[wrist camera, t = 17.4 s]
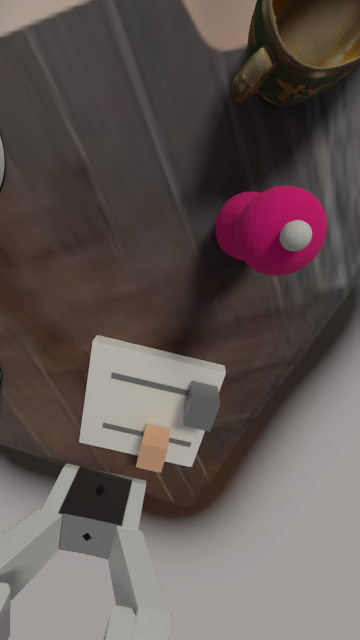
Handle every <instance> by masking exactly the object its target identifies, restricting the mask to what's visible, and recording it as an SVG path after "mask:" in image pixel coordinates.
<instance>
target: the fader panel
mask: <svg viewBox="0 0 360 640" xmlns="http://www.w3.org/2000/svg"><path fill="white" fill-rule="evenodd" d="M225 374H226V370H225V366H224V365H220V364H216V363H212V362H207V361H203V360H199V359H195V358H191V357H187V356H182V355H178V354H174V353H170V352H166V351H162V350H157V349H153V348H149V347H145V346H141V345H137V344H132V343H128V342H124V341H120V340H116V339H112V338H108V337H103V336H99V335H97V336H96V338H95V339H94V340H93V343H92V350H91V358H90V365H89V372H88V380H87V387H86V394H85V402H84V409H83V417H82V424H81V431H80V439H79V442H80V443H84V444H89V445H93V446H98V447H102V448H107V449H111V450H116V451H120V452H125V453H129V454H134V455H139V451H140V447H141V443H142V439H143V435H144V431H145V427H146V424H149V425H153V426H157V427H162V428H166V429H170V435H169V444H168V451H167V454H166V457H165V462H170V463H174V464H179V465H183V466H188V467H192V465H193V462H194V459H195V457H196V454H197V451H198V448H199V446H200V443H201V440H202V437H203V435H204V432H205V431H204V430H200V429H195V428H191V427H187V426H183V413H184V405H185V401H186V398H187V395H188V392H189V389H190V385H191V382H192V381H196V382H200V383H204V384H208V385H212V386H217V387H218V392H219V391H220V388H221V385H222V382H223V380H224V377H225Z"/></svg>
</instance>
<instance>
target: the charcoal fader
mask: <svg viewBox="0 0 360 640" xmlns="http://www.w3.org/2000/svg"><path fill="white" fill-rule="evenodd" d="M219 406H220V399H219V392H218V387H217V386H212V385H208V384H204V383H200V382H196V381H192V382H191V385H190V389H189V392H188V395H187V398H186V401H185V405H184V413H183V426H187V427H191V428H195V429H200V430H204V431H209V432H210V430H211V428H212V425H213V422H214V420H215V417H216V414H217V412H218V409H219Z"/></svg>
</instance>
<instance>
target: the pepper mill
mask: <svg viewBox="0 0 360 640" xmlns="http://www.w3.org/2000/svg"><path fill="white" fill-rule="evenodd" d="M215 232H216V238H217V241H218V243H219V245H220V247H221V248H222V249H223V251H224V252H225V253H227V254H228V255H229V256H231V257H233V258H236V259H239V260H244V261H245V262H246V263H247V264H248V265H249V266H250V267H251V268H253V269H254V270H256V271H258V272H261V273H264V274H268V275H276V276H279V275H286V274H290V273H293V272H296V271H298V270H300V269H302V268H303V267H305V266H306V265H307V264H308V263H310V262H311V261H312V260H313V259H314V258H315V257H316V255H317V254H318V252H319V251H320V249H321V247H322V245H323V242H324V240H325V236H326V232H327V220H326V215H325V212H324V209H323V207H322V205H321V203H320V202H319V201H318V200H317V198H316V197H315V196H314V195H312V194H311V193H310V192H308V191H306V190H304V189H302V188H298V187H294V186H278V187H274V188H271V189H268V190H266V191H264V192H262V193H260V192H253V191H250V192H243V193H240V194H237V195H235V196H234V197H232V198H230V199H229V200H228V201H227V202H226V203H225V204H224V205H223V207H222V208H221V210H220V211H219V214H218V216H217V219H216V224H215Z"/></svg>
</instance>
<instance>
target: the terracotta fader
mask: <svg viewBox="0 0 360 640" xmlns="http://www.w3.org/2000/svg"><path fill="white" fill-rule="evenodd" d="M169 435H170V429H166V428H162V427H157V426H153V425H149V424H146V427H145V431H144V435H143V439H142V443H141V447H140V451H139V455H138V460H137V464H136V467H137V468H142V469H146V470H151V471H155V472H160V473H161V471H162V467H163V464H164V461H165V457H166V454H167V451H168V444H169Z"/></svg>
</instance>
